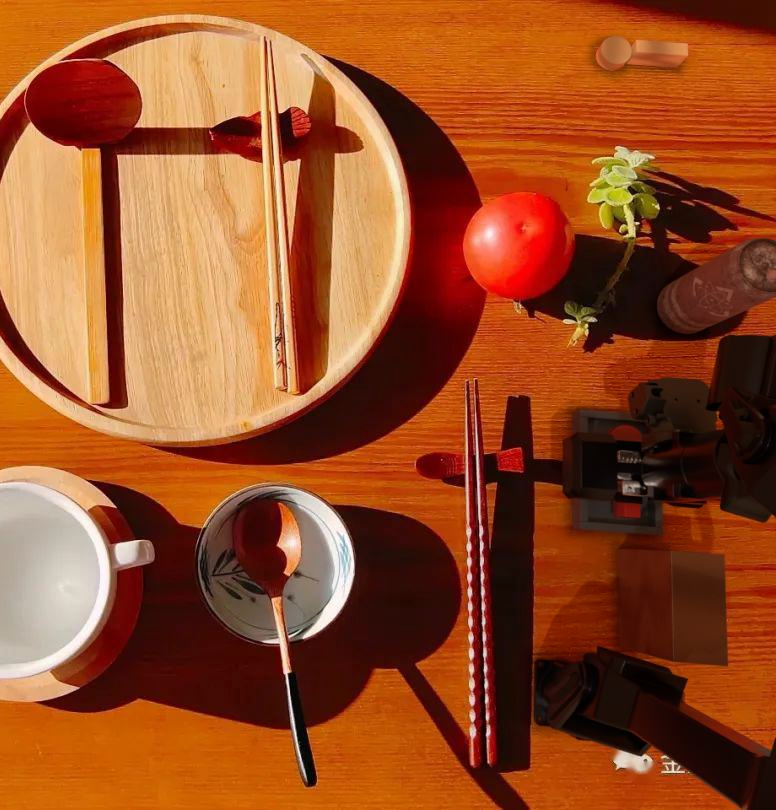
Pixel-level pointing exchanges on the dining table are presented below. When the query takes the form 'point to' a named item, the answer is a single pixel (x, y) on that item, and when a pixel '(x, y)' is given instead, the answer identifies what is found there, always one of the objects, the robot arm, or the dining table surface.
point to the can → (720, 287)
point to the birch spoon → (640, 53)
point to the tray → (601, 512)
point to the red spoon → (634, 435)
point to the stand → (673, 605)
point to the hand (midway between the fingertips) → (621, 479)
